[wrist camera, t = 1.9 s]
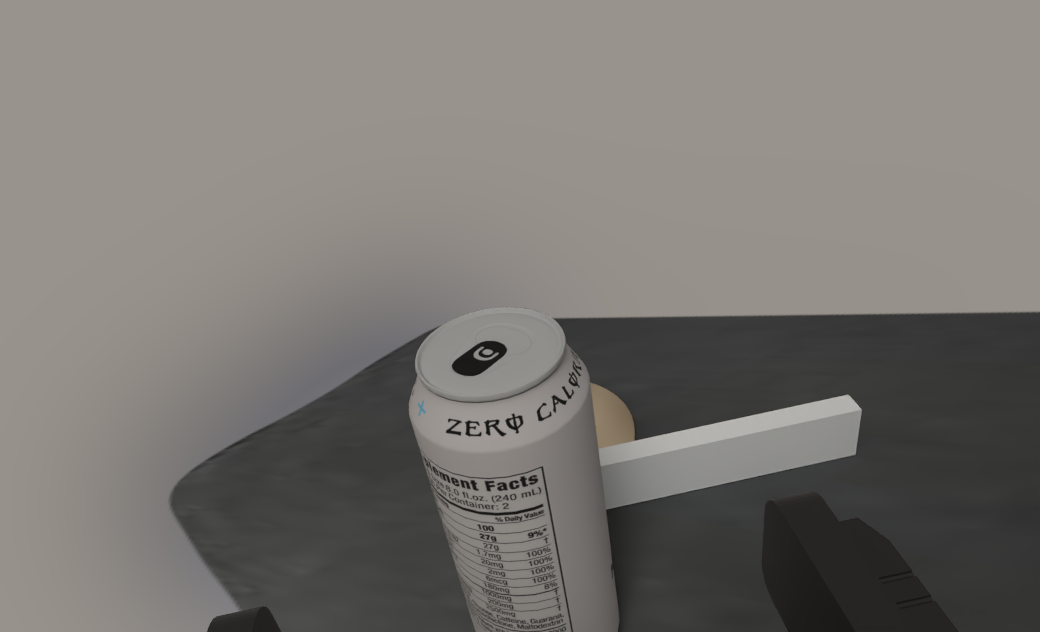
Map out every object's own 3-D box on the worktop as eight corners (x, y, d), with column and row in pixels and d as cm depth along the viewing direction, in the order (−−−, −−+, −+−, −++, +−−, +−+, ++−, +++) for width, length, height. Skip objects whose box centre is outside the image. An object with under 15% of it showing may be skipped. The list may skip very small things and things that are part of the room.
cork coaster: (609, 369, 45) (609, 364, 45) (658, 481, 36) (657, 475, 36) (455, 402, 45) (454, 397, 44) (468, 522, 36) (466, 517, 36)
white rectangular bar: (842, 439, 37) (848, 394, 35) (855, 454, 36) (861, 409, 34) (448, 525, 36) (436, 483, 35) (450, 543, 35) (437, 501, 34)
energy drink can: (648, 617, 30) (623, 325, 22) (561, 734, 27) (493, 438, 19) (541, 551, 34) (486, 282, 26) (452, 646, 30) (357, 368, 22)
